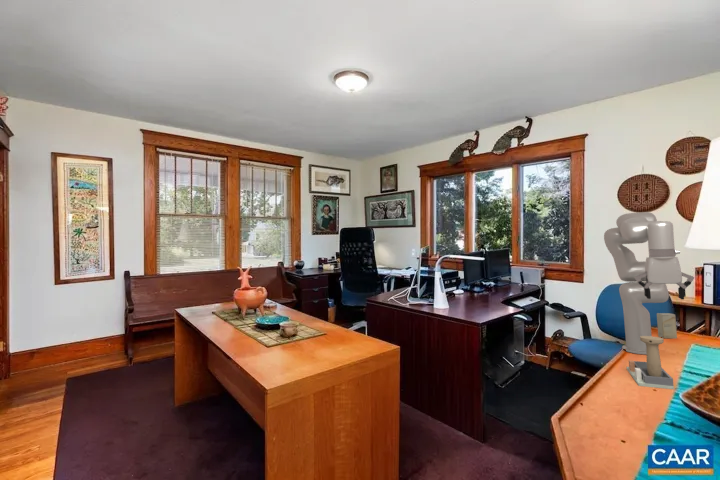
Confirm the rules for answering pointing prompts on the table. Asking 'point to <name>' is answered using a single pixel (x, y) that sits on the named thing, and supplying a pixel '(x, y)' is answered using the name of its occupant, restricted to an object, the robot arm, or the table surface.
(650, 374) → the handle
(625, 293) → the robot arm
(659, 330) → the skincare box
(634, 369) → the grey compartment tray
